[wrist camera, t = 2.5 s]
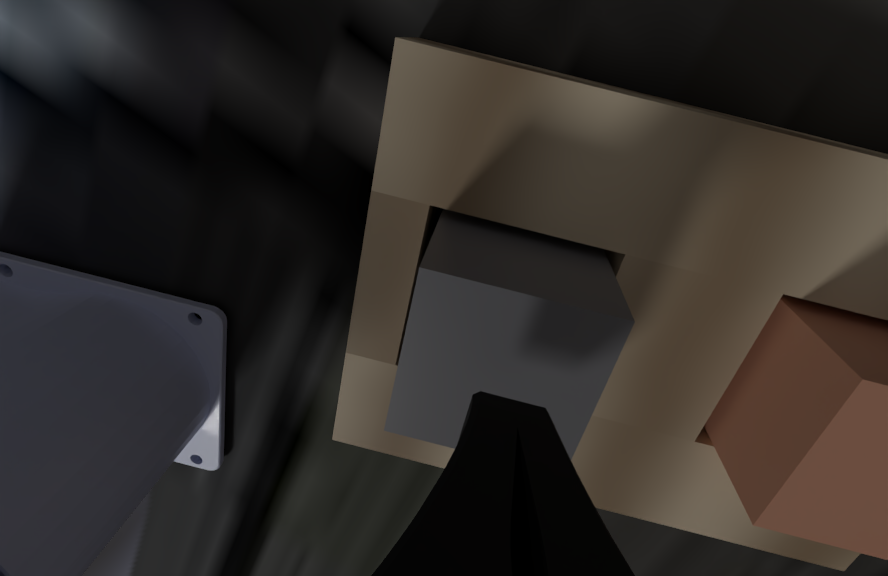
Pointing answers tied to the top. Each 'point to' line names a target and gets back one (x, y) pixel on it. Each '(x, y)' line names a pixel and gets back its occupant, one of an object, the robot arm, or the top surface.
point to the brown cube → (811, 427)
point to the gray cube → (506, 329)
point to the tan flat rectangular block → (619, 257)
